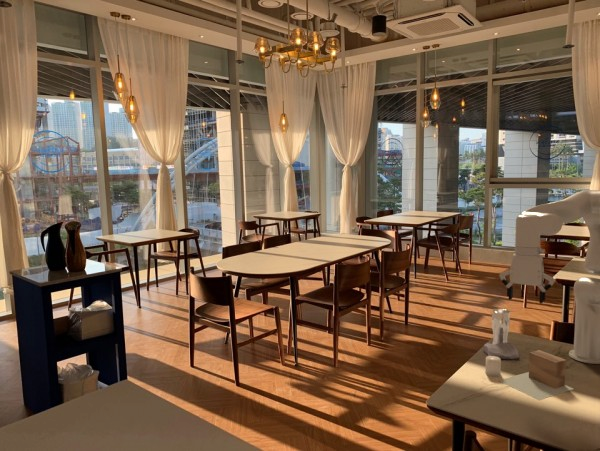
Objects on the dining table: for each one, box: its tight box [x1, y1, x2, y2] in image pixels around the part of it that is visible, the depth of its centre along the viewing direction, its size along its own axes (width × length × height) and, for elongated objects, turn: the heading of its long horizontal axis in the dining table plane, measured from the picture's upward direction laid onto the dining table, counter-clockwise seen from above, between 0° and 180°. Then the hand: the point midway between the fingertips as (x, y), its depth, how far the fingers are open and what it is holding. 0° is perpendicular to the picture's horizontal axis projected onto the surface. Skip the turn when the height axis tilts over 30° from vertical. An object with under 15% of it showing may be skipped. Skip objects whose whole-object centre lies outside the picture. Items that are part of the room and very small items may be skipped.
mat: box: [497, 371, 574, 401], centre depth 160 cm, size 17×16×1 cm
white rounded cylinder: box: [484, 355, 502, 377], centre depth 169 cm, size 5×5×6 cm
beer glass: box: [491, 308, 511, 344], centre depth 196 cm, size 7×7×15 cm
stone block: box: [482, 342, 520, 360], centre depth 187 cm, size 12×5×10 cm
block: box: [528, 349, 567, 389], centre depth 162 cm, size 5×10×9 cm, turn 26°
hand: (525, 300), depth 161 cm, fingers open, 9 cm apart
